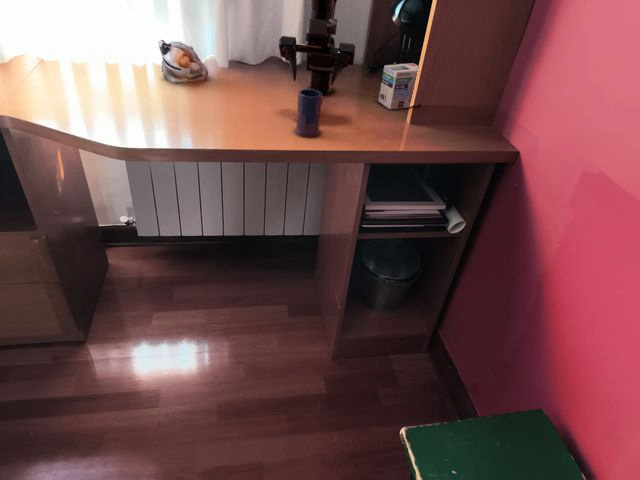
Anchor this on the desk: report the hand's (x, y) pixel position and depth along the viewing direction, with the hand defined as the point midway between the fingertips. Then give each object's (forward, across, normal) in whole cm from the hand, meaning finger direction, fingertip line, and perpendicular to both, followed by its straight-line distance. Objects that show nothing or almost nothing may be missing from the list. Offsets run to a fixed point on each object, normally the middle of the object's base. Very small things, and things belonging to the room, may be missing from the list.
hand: (312, 82), depth 112 cm
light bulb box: (-8, +24, +23) cm, 34 cm away
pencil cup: (+12, 0, +3) cm, 12 cm away
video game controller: (+4, -1, +11) cm, 12 cm away
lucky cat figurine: (-8, -40, +23) cm, 47 cm away
